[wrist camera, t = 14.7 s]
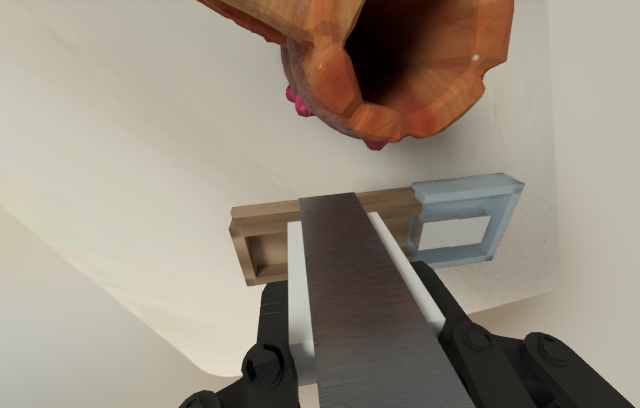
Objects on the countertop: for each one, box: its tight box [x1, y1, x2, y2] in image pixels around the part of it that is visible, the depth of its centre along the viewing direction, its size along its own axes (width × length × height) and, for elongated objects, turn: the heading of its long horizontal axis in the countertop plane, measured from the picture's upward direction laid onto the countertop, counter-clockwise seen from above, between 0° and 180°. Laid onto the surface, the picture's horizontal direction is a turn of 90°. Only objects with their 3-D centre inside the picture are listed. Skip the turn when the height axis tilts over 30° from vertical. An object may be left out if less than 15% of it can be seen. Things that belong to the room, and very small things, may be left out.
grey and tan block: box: [299, 192, 476, 408], centre depth 9 cm, size 4×4×14 cm
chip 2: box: [446, 204, 491, 247], centre depth 28 cm, size 4×4×2 cm
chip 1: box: [408, 207, 458, 251], centre depth 28 cm, size 4×4×2 cm
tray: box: [406, 173, 525, 269], centre depth 28 cm, size 11×11×3 cm
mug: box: [197, 0, 514, 151], centre depth 12 cm, size 15×8×15 cm, turn 66°
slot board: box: [229, 187, 423, 286], centre depth 27 cm, size 10×20×3 cm, turn 93°
